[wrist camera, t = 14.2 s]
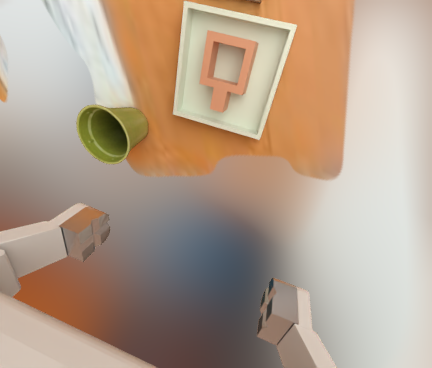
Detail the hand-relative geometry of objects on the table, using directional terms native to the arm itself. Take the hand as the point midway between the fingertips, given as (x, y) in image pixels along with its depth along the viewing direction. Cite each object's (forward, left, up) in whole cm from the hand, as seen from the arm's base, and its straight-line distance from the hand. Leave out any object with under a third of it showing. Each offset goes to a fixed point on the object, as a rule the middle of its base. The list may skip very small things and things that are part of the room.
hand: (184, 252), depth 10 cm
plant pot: (-22, -7, -29) cm, 37 cm away
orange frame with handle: (-6, +5, -28) cm, 30 cm away
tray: (-6, +5, -29) cm, 30 cm away
